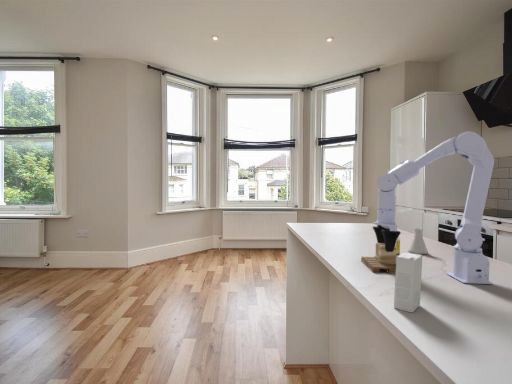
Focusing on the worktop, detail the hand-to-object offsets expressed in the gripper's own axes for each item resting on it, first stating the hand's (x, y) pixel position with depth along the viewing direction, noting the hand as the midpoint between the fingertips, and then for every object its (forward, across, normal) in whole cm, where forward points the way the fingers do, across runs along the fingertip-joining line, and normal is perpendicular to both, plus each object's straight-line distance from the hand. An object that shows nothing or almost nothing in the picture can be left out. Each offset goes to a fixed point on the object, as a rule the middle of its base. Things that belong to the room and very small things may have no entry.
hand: (385, 249), depth 105 cm
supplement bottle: (+6, -18, +9) cm, 21 cm away
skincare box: (+6, +35, -7) cm, 36 cm away
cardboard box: (+4, 0, 0) cm, 4 cm away
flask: (+6, -25, +22) cm, 34 cm away
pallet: (+6, 0, 0) cm, 6 cm away
